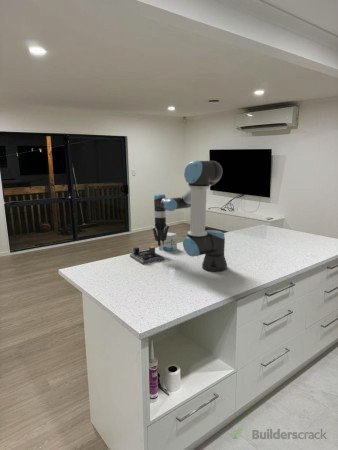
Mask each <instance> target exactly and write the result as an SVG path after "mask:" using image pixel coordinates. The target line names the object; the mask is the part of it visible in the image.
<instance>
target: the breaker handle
mask: <svg viewBox="0 0 338 450" xmlns="http://www.w3.org/2000/svg"><path fill="white" fill-rule="evenodd" d="M148 250H149V255H153V254H155V253H156V247H154V246H153V245H152V246H149V247H148Z"/></svg>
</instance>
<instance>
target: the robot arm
mask: <svg viewBox="0 0 338 450" xmlns="http://www.w3.org/2000/svg"><path fill="white" fill-rule="evenodd" d="M222 175H223V167H222V165H221V164H220V163H219V162H217V161H215V160H193V161H191V162H189V163H188V164H187V165H186V167H185V168H184V174H183V176H184V179H185V182H186V183H187V184H188V185H187V186H188V187H189V189H188V190H187V191H186V192H185V193H184V194H183V195H182V196H179V197H171V198H169V197H168V198H166V194H165V193H156V194H154V200H153V202H154V203H153V204H154V205H153V207H154V226H153V227H151V231H152V232H153V236H154V237H153V238H154V240H155V241H156V242H157V246H158V250H159V251H164V250H163V245H164V241H165V240H166V237H167V233H168V232H169V229H170V226H169V225H167V223H166V222H167V217H166V216H167V214H166V213H167V212H166V211H168V212H174V211H175V210H181V209H188V208H190V213H189V214H190V215H189V220H190V221H189V222H190V223H189V230H188V231H187V233H186V237H184V238H183V240H182V247H183V251H185V253H186V255H187V256H190V257H192V258H193V257H199V256H202V255H204V258H203V261H202V266H201V267H202V269H203V270H205V271H207V272H208V271H209V272H217V273H218V272H223V271H226V270H227V269H228V264H227V260H226V256H225V244H226V242H225V241H226V239H225V238H226V237H225V236H226V235H225V233H224V232H223V231H220V230H215V229H214V230H213V229H206V211H207V190H208V189H209V188H210V187H211V186H215V185H216V184H217V183H219V181H220V180H221V178H222Z"/></svg>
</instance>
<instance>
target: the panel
mask: <svg viewBox="0 0 338 450" xmlns="http://www.w3.org/2000/svg"><path fill="white" fill-rule="evenodd" d="M132 250H133V251H132V252H131V253H130V254H129V257H130V258H131V259H133V260H135V261H136V262H138V263H140V264H141V265H147V264H151V263H156V262H157V263H158V262H161V261H165V260H166V259H165V257H164V256H163V255H161V254H158V253H157V252H155V254H153V255H149V249H144V250H140V248H139V247H138V246H135V247H132Z"/></svg>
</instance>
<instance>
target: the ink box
mask: <svg viewBox="0 0 338 450" xmlns="http://www.w3.org/2000/svg"><path fill="white" fill-rule="evenodd" d="M177 249H178V234H177V233H174V232H169V231H168V232H167V237H166V240H165V241H164V245H163V251H169V252H172V251H174V250H177Z"/></svg>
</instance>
